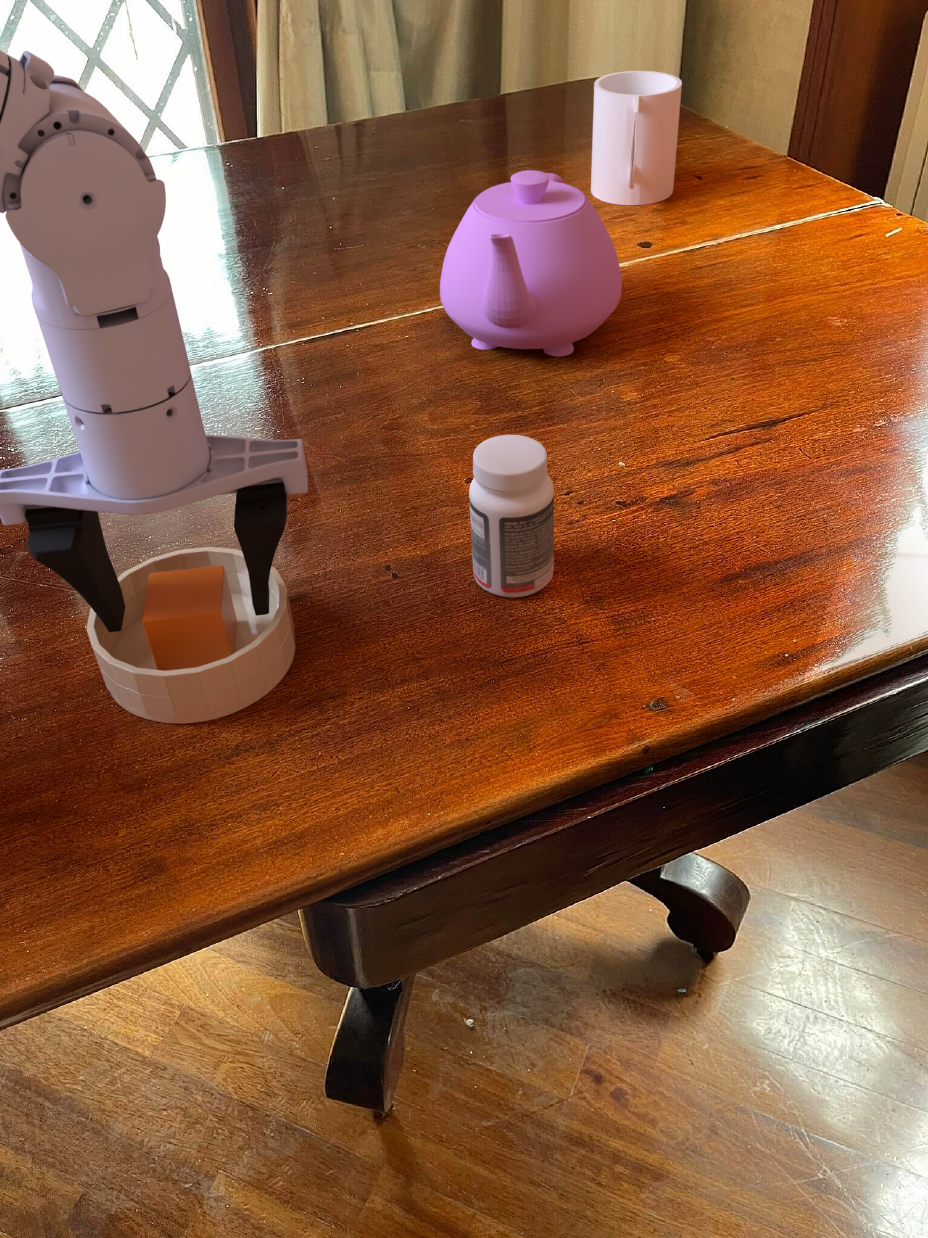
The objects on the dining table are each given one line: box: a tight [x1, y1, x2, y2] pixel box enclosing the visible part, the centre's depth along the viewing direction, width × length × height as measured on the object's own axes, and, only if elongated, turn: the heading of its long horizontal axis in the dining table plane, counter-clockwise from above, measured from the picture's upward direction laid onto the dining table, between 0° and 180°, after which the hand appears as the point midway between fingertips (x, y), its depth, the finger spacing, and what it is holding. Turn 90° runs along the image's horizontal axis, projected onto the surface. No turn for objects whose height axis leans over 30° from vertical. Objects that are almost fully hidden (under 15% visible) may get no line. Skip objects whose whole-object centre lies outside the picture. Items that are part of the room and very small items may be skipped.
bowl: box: [86, 546, 297, 725], centre depth 59 cm, size 10×10×4 cm
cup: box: [590, 70, 683, 206], centre depth 105 cm, size 8×12×10 cm
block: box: [142, 565, 237, 671], centre depth 58 cm, size 4×4×4 cm
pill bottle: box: [468, 434, 555, 599], centre depth 62 cm, size 5×5×8 cm
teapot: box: [439, 169, 623, 357], centre depth 83 cm, size 20×14×12 cm
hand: (190, 611), depth 58 cm, fingers open, 7 cm apart
